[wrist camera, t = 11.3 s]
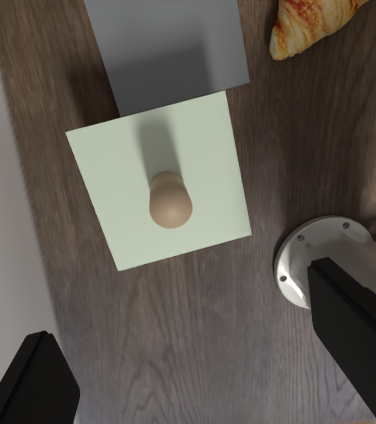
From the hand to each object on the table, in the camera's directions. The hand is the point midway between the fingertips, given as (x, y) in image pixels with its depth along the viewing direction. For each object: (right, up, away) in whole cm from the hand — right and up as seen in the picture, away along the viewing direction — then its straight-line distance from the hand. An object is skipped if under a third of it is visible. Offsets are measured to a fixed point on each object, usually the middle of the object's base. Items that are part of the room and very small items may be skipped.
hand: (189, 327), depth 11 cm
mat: (-2, +21, +16) cm, 27 cm away
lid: (-2, +7, +16) cm, 17 cm away
